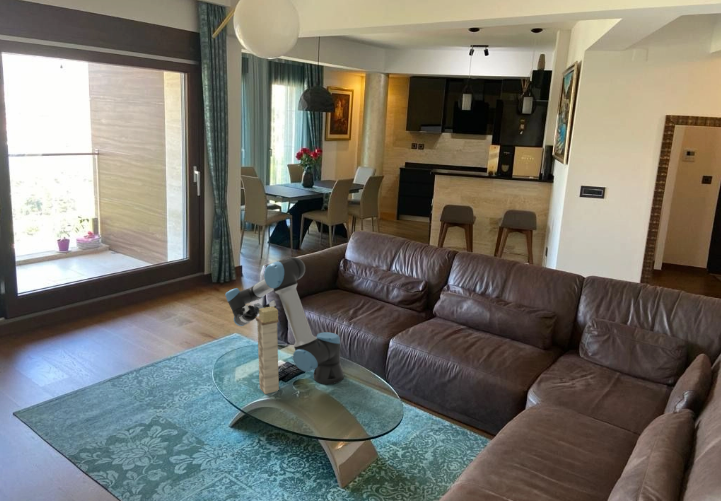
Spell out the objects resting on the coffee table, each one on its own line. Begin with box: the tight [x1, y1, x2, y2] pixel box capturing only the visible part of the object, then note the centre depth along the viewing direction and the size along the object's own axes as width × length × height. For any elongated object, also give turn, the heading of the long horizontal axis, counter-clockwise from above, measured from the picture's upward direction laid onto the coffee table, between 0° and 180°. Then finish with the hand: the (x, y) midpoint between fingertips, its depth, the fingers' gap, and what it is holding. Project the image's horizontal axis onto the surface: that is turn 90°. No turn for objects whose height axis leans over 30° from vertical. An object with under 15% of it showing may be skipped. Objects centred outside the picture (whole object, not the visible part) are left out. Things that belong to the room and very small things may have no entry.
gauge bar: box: [253, 303, 279, 323], centre depth 257 cm, size 18×7×5 cm, turn 32°
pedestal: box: [255, 315, 280, 395], centre depth 258 cm, size 8×8×36 cm
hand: (261, 305), depth 258 cm, fingers open, 13 cm apart
